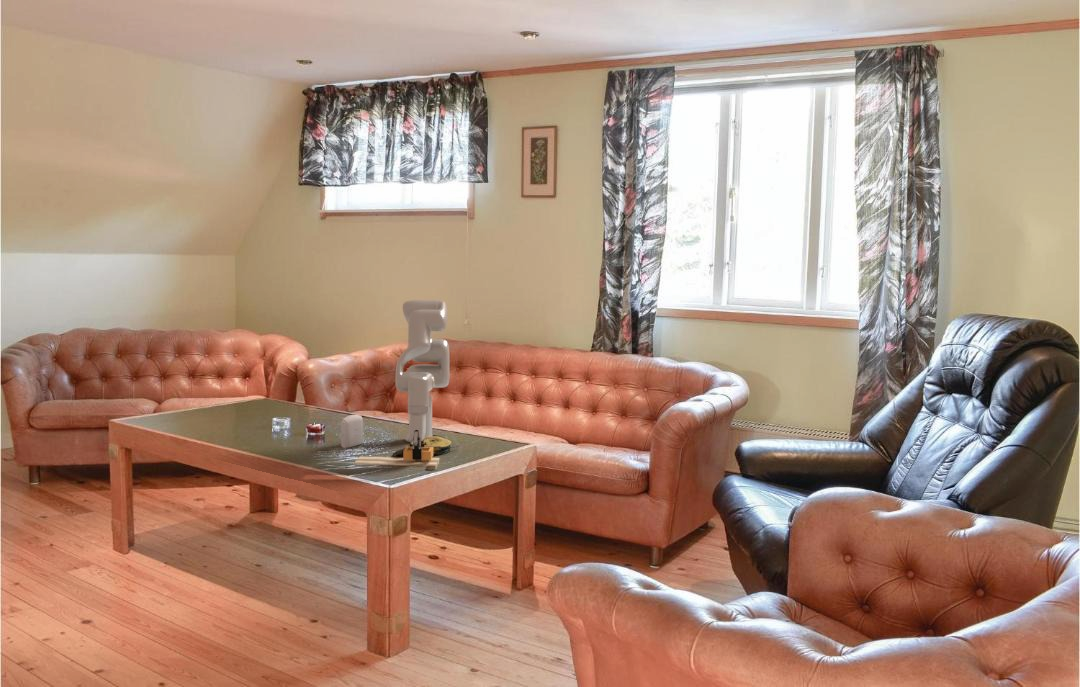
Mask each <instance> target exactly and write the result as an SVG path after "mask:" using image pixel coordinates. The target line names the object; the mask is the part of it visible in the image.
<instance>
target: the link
mask: <svg viewBox="0 0 1080 687" xmlns="http://www.w3.org/2000/svg"><path fill="white" fill-rule="evenodd" d="M404 448H405V449H404V451H403V455H402V457H403V460H413V459H412V449H413V447H410V446H406V447H404ZM421 448H422V450H423V451H421V460H431V459H432V458H434V457H433V456H434V455H433V454H434V452H433V447H421Z"/></svg>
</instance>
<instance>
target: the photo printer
mask: <svg viewBox="0 0 1080 687" xmlns="http://www.w3.org/2000/svg"><path fill="white" fill-rule="evenodd" d="M363 443H364V419H363V417H362V416H361V415H360V414H350V415H347V416H345V417H344V418H343V419H342V420H341V421H340V445H341V447H342V448H344V449H345V448H346V449H347V448H351V447H355V446H359V445H362V444H363Z"/></svg>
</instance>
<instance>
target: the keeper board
mask: <svg viewBox="0 0 1080 687" xmlns="http://www.w3.org/2000/svg"><path fill="white" fill-rule="evenodd" d="M421 451H423V450H422V448H421ZM439 463H440V457H432V459H431V460H403V456H399V457H393V456H359V457H358V458H357V459H355V461H354V462H353V463H352V465H354V466H356V465H361V466H415V467H417V466H419V467H420V466H422V467H423V466H424V467H426V468H424V469H425V470H428V471H429V470H431V471H432V470H433V471H435V470H437V467H438V465H439Z"/></svg>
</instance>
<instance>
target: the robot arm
mask: <svg viewBox="0 0 1080 687" xmlns="http://www.w3.org/2000/svg"><path fill="white" fill-rule="evenodd" d="M402 313H403V316H404V318H405V320H406V322H407V324H408V328H407V329H408V330H407V331H408V332H407V333H408V335H407V337H408V338H407V340H408V341H407V348H405V350H403V352H402V353H401V354H400V356H399V358H398V359H397V361H396V365H395V381H394V382H395V388H396V390H397V391H398V392H400V393H407V414H408V435H407V436H406V437H405V436H404V437H405V438H404V441H406V442H407V443H409V444H410V443H411V442H412V441H413V449H412V459H413V460H421V447H424V438H425V437H427V436H433V435H434V434H433V397H432V395H431V394H430V392H431V391H432V390H433V389H434V388H437V389H439V388H446V387H447V386H449V385H450V384H449V383H450V378H451V375H450V363H451V362H450V359H451V358H450V345H449V342H448V341H447V340H446V339H445V338H444V339H443V338H432V332H444V331H445V330H446V328H447V325H448V324H447V323H448V307H447V303H446V302H445V301H444V300H435V299H434V300H430V299H429V300H427V299H424V300H423V299H414V300H407V301H404V302H403V303H402ZM411 360H412V361H413V362H417V363H423V364H413V365H411V366H409V367H408V368H407V370H406V371H404V368H405V365H406V364H407V363H408V362H410V361H411ZM424 363H437V364H424Z"/></svg>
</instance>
